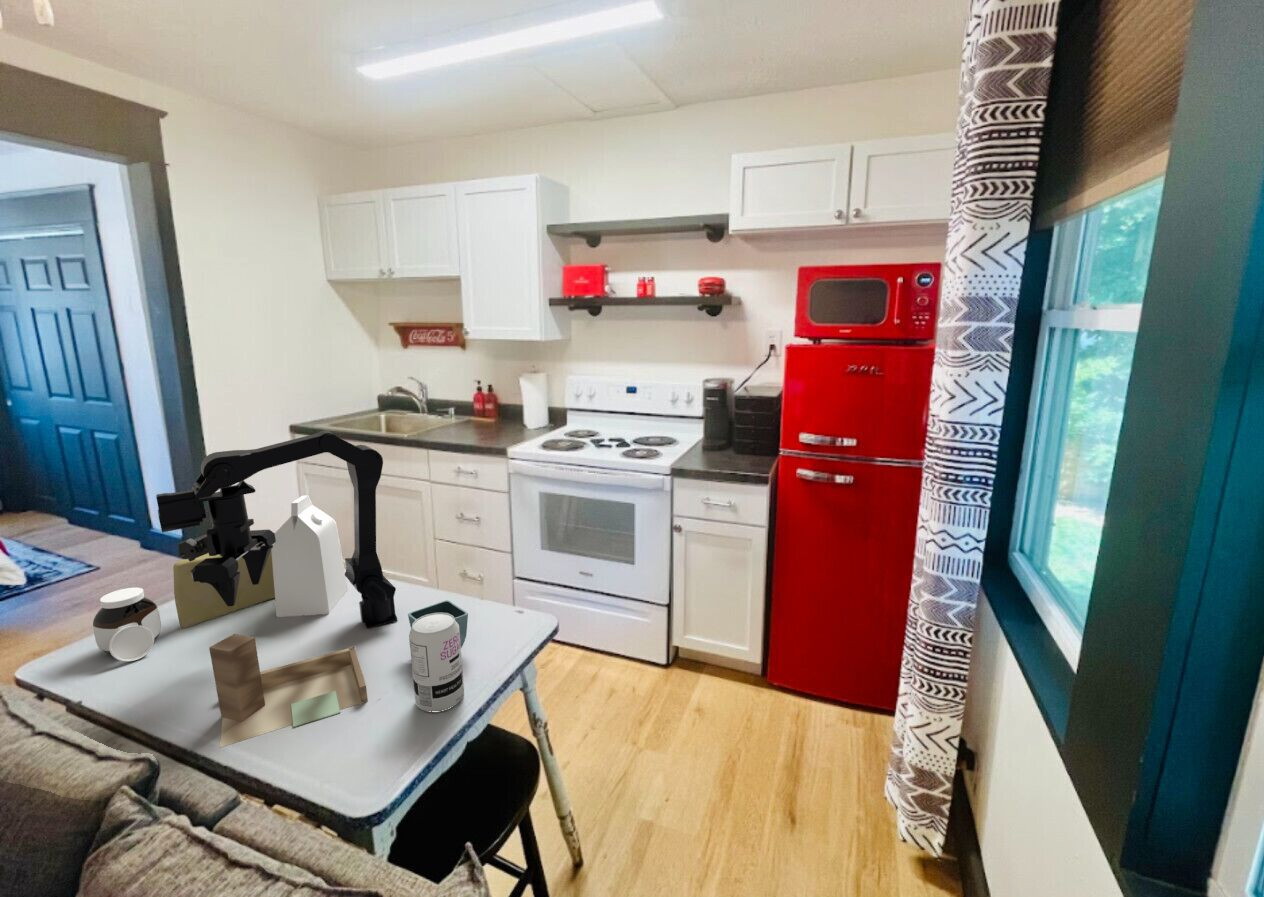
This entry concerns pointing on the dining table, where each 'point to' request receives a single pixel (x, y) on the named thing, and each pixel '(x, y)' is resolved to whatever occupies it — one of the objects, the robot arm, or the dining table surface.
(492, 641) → the dining table surface
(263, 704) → the walnut block
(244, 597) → the cheese
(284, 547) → the milk
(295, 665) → the tray
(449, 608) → the flower pot
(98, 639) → the spread jar
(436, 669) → the supplement can
